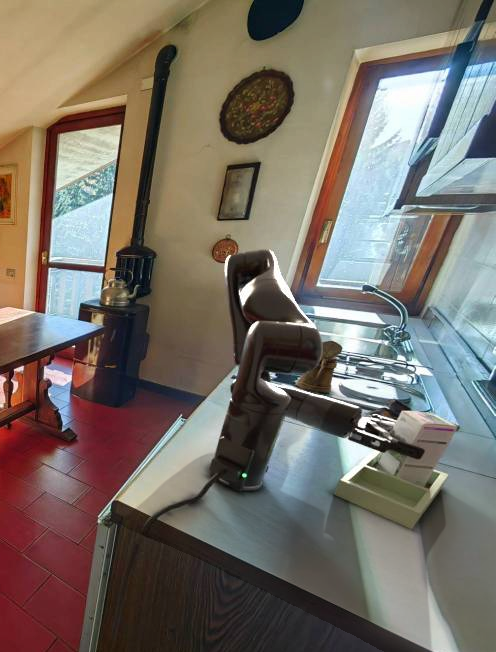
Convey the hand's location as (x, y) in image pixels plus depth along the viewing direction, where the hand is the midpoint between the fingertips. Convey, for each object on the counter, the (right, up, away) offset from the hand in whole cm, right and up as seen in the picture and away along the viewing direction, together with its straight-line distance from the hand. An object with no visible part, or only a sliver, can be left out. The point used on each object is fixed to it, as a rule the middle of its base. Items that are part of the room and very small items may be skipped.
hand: (428, 448), depth 76 cm
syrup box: (-1, -7, +5) cm, 9 cm away
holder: (-6, -9, +2) cm, 11 cm away
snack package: (+27, +2, +32) cm, 41 cm away
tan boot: (+20, +11, +51) cm, 56 cm away
